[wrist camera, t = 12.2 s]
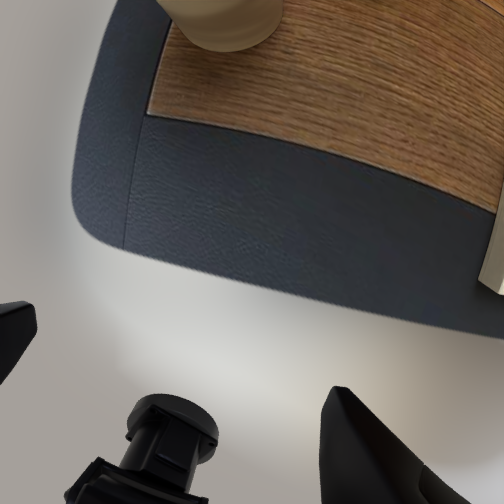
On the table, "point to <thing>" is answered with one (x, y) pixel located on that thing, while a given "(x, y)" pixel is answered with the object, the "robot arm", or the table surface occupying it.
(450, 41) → the table surface
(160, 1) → the pedestal
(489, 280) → the beige tray
